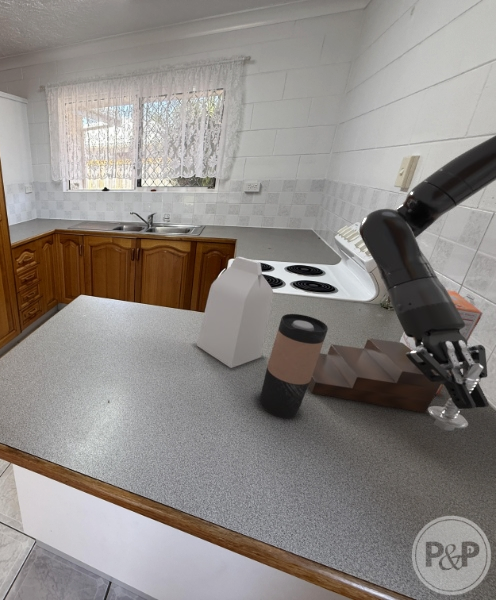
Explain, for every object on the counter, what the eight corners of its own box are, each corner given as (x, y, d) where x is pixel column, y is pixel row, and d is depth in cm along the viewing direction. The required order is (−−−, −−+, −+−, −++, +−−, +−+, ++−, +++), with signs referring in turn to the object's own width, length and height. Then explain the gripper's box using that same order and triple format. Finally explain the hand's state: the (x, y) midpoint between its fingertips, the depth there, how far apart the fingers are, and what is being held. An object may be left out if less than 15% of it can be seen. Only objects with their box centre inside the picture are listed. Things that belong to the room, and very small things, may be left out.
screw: (470, 437, 52) (438, 434, 53) (445, 416, 57) (415, 413, 57) (512, 374, 47) (476, 371, 48) (481, 356, 51) (448, 353, 52)
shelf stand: (311, 393, 70) (324, 359, 67) (293, 359, 83) (303, 329, 79) (425, 412, 65) (445, 377, 61) (387, 373, 77) (402, 342, 74)
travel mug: (298, 402, 67) (327, 319, 59) (298, 425, 61) (330, 336, 53) (259, 389, 71) (281, 310, 63) (256, 410, 65) (280, 325, 57)
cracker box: (389, 358, 84) (422, 285, 76) (419, 365, 81) (457, 290, 73) (403, 386, 73) (444, 305, 65) (439, 396, 70) (486, 312, 62)
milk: (196, 345, 88) (211, 256, 78) (225, 336, 93) (243, 251, 83) (231, 368, 78) (253, 269, 68) (261, 357, 83) (286, 263, 73)
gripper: (412, 302, 52) (466, 410, 46) (479, 298, 54) (540, 402, 48) (371, 316, 59) (413, 412, 53) (432, 312, 61) (479, 405, 55)
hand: (473, 407), depth 50 cm, fingers closed on screw, 2 cm apart
